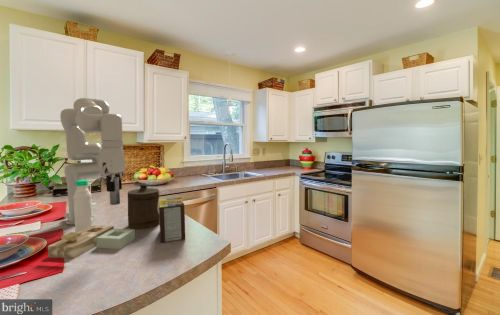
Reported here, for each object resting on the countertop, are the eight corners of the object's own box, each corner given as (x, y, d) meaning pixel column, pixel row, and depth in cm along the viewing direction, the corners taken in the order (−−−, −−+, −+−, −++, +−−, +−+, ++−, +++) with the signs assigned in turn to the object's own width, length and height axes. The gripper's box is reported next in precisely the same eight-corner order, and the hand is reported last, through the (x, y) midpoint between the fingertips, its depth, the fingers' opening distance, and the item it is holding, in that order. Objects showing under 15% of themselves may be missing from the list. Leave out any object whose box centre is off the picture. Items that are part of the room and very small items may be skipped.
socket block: (48, 259, 90) (47, 246, 89) (93, 236, 111) (92, 225, 111) (73, 260, 88) (72, 247, 88) (114, 237, 110) (113, 226, 110)
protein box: (182, 228, 121) (181, 197, 120) (185, 239, 107) (184, 204, 106) (159, 230, 118) (158, 198, 117) (160, 243, 103) (158, 207, 102)
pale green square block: (97, 250, 97) (96, 237, 97) (113, 239, 107) (113, 228, 107) (120, 251, 96) (120, 238, 96) (135, 240, 106) (134, 229, 106)
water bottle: (74, 237, 110) (70, 182, 109) (76, 232, 117) (73, 180, 115) (92, 234, 114) (89, 180, 112) (94, 229, 120) (91, 178, 118)
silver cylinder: (108, 204, 99) (106, 177, 98) (113, 202, 102) (112, 176, 102) (116, 204, 98) (115, 177, 98) (121, 202, 102) (120, 176, 101)
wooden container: (166, 224, 127) (165, 182, 125) (139, 233, 114) (137, 187, 113) (148, 219, 135) (147, 179, 133) (122, 227, 122) (120, 184, 121)
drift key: (61, 250, 92) (61, 236, 92) (71, 245, 96) (70, 232, 96) (72, 251, 91) (71, 237, 91) (82, 246, 96) (81, 232, 95)
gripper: (117, 144, 107) (118, 186, 109) (88, 145, 91) (90, 194, 92) (133, 144, 107) (134, 186, 108) (106, 145, 90) (109, 195, 91)
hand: (114, 189), depth 100 cm, fingers closed on silver cylinder, 3 cm apart
